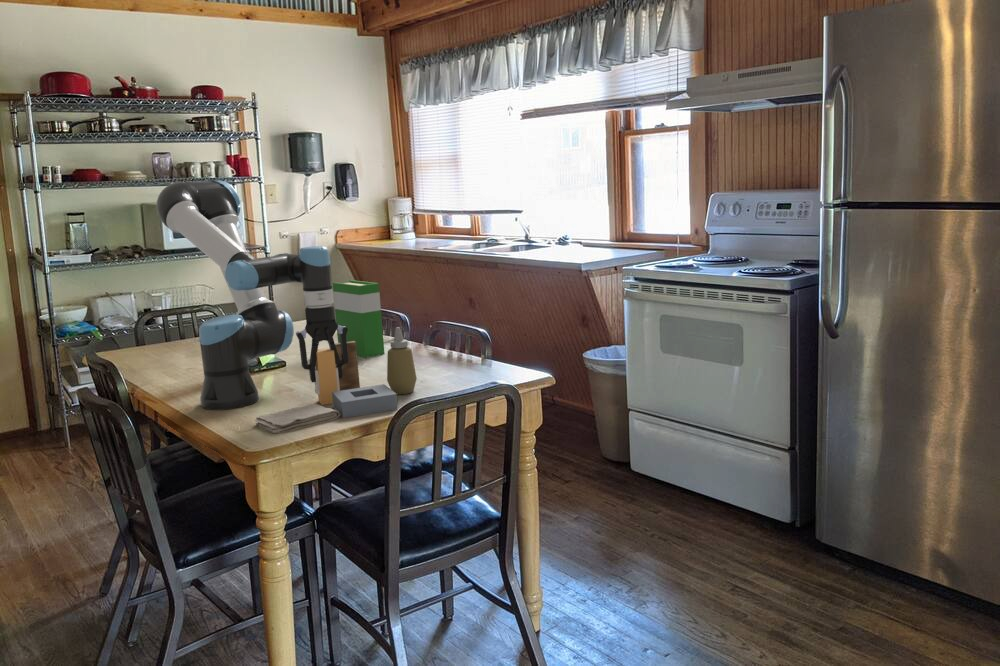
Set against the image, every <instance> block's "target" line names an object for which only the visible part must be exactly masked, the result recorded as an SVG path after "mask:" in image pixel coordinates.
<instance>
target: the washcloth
mask: <svg viewBox="0 0 1000 666" xmlns="http://www.w3.org/2000/svg"><path fill="white" fill-rule="evenodd" d="M340 416H341V415H340V413H339V411H337V410H336V409H333V408H331V407H325V406H323V405H322V404H321V405H320V404H317V403H313V404H307V405H303V406H298V407H292V408H288V409H284V410H280V411H275V412H272V413H271V412H270V413H268V414H263V415H259V416H257V417H255V419H254V421H255V422H256V423H255V425H256V426H258V428H260V429H262V430H265V431H267V432H269V433H270V434H280V433H285V432H291V431H294V430H298V429H302V428H303V429H304V428H306V427H309V426H311V427H312V426H313V425H318V424H322V423H325V422H330V421H334V420H337V419H338V418H340Z"/></svg>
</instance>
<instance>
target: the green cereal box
mask: <svg viewBox="0 0 1000 666" xmlns="http://www.w3.org/2000/svg"><path fill="white" fill-rule="evenodd" d="M332 290H333V300H334V303H333V304H334V310H335V320H336V323H337V324H338V325H339V326H345V327H347V328H348V331H347V335H346V341H347V342H350V341H355V342H356V350H357V357H360V358H363V359H364V358H365V359H367V357H368V358H371V357H376V356H383V355H385V342H384V332H383V331H384V330H383V329H384V328H383V320H382V318H383V317H382V306H381V296H380V295H381V292H380V284H379V282H373V281H372V282H371V281H370V282H369V281H362V280H354V279H349V280H348V282H332ZM336 333H337V334H336V335H337V343H340V334H339V333H338V329H337V330H336Z"/></svg>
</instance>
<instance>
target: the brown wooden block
mask: <svg viewBox="0 0 1000 666" xmlns="http://www.w3.org/2000/svg"><path fill="white" fill-rule="evenodd" d="M334 343H335V342H334ZM335 346H336V349H337V352H338V355H339V358H340V360H341V359H342V357H341V345H340V343H338V342H336V343H335ZM347 353H348V363H347V364H344V365H342V378H339V386H340V391H342V390H348V389H355V388H361V387H360V386H361V385H360V374H359V363H358V362H359V361H358V356H357V350H356V342H355V341H350V342H347ZM335 366H336V364H335Z"/></svg>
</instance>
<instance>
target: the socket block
mask: <svg viewBox="0 0 1000 666" xmlns="http://www.w3.org/2000/svg"><path fill="white" fill-rule="evenodd" d="M332 398H333V403H332V406H333V408H334V410H337V411H339V413H340V416H341V417H342V418H343V419H346V418H351V417H356V416H357V417H358V416H363V415H371V414H377V413H381V412H389V411H394V410H399V409H398V407H399V406H398V394H396V393H395V392H393V391H392V390H391V388H390V387H389V386H387V385H386V384H385V383H383V384H376V385H370V386H362V387H360V388H355V389H348V390H342V391H335V392H332Z"/></svg>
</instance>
